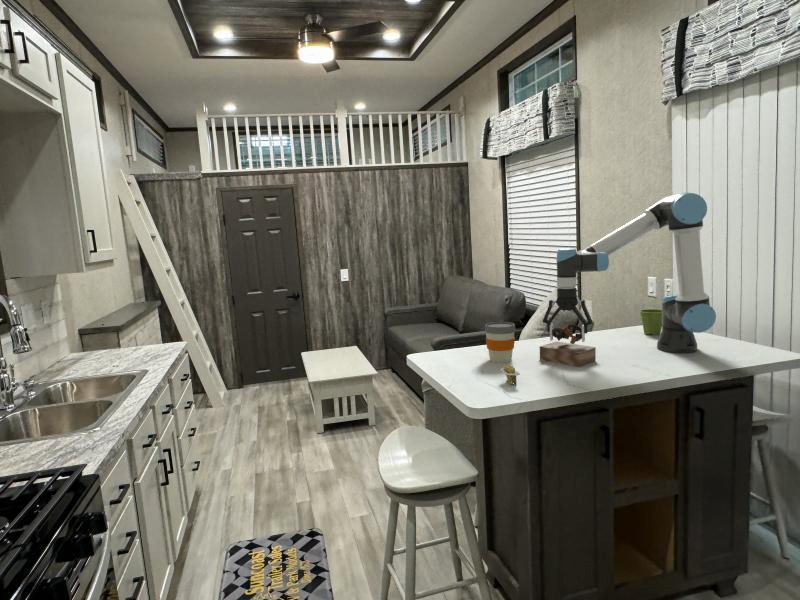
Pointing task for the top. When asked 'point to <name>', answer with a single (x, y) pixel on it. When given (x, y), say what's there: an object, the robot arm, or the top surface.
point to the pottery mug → (568, 333)
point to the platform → (510, 373)
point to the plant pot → (651, 321)
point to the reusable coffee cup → (500, 340)
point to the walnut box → (568, 353)
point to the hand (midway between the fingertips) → (567, 340)
